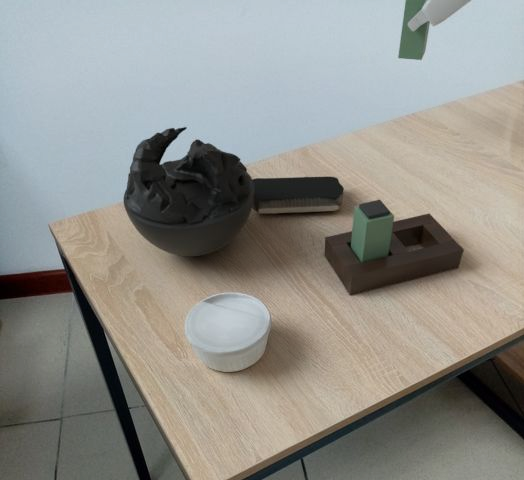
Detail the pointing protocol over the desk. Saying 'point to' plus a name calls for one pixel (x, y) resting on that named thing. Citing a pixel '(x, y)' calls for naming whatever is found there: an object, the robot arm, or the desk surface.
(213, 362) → the ramekin
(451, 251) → the socket block
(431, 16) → the robot arm
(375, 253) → the green square peg
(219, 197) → the dark sculpted bowl
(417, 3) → the green capped post
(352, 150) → the desk surface
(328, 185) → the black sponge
